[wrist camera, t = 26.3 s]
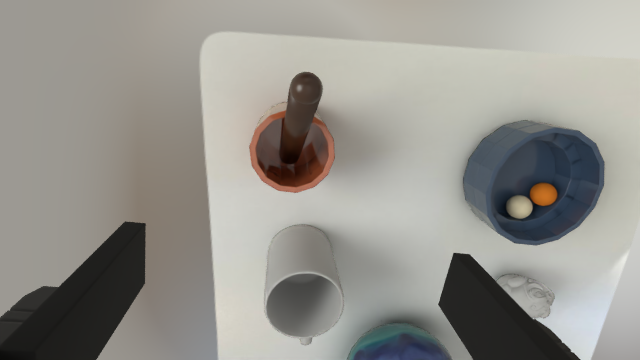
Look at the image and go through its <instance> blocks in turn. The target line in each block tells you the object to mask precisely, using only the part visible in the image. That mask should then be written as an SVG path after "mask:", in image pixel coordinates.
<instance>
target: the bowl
mask: <svg viewBox="0 0 640 360" xmlns="http://www.w3.org/2000/svg"><path fill="white" fill-rule="evenodd" d="M463 183H464V192H465V200H466V201H467V203H468V205H469V206H470V208H471V209H472V211H473V213H474V214H475V215H476V216H477V217H478V218H479V219H481V220H482V221H483V222H484V223H486V224H487V225H488V226H490V227H491V228H492V229H493V230H495V231H496V232H497V233H498V234H500V235H502V236H504V237H505V238H507V239H509V240H510V241H512V242H514V243H517V244H527V245H540V244H544V243H547V242H551V241H555V240H558V239H560V238H561V237H563V236H565V235H566V234H568V233H569V232H571V231H572V230H574V229H575V228H577V227H578V226H580V224H581V223H582V222H583V221H584V220H585V218H586V217H587V216H588V215H589V214H590V212H591V211H592V210H593V209H594V207H595V206H596V203H597V201H598V198H599V196H600V194H601V191H602V189H603V186H604V161H603V158H602V156H601V154H600V152H599V150H598V147H597V145H596V143H595V142H593V141H592V140H591V139H589V138H588V137H586V136H585V135H584V134H582V133H581V132H580V131H578V130H573V129H569V128H565V127H560V126H556V125H551V124H547V123H541V122H535V121H528V120H523V121H519V122H515V123H511V124H508V125H504V126H502V127H500V128H499V129H497V130H496V131H495V132H493V133H492V134H490V135H489V136H487V137H486V138H485V139H483V140H482V141H481V143H480V144H479V146H478V147H477V148H476V150H475V151H474V152H473V154H472V155H471V157H470V158H469V161H468V164H467V168H466V171H465V175H464V178H463ZM538 183H549V184H551V185H552V186H554V187H555V189H556V191H557V198H556V200H555V202H554V203H552V204H550V205H548V206H540V205H537V204H535V203H534V202H533V201H532V200H531V198H530V190H531V188H532V187H533V186H534V185H536V184H538ZM516 195H521V196H525V197H527V198H528V199H529V200H530V201H531V203H532V206H533V209H532V212H531V214H530V215H529V216H527V217H525V218H521V219H518V218H514V217H512V216H511V215H509V213H508V212H507V210H506V203H507V201H508V200H509V199H510V198H511V197H513V196H516Z"/></svg>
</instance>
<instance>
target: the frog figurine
mask: <svg viewBox="0 0 640 360" xmlns="http://www.w3.org/2000/svg"><path fill="white" fill-rule="evenodd" d="M496 282H497V283H498V284H499V285H500V286H501V287H502V288H503V289H504V290H505V291H506V292H507V293H508V294H509V295H510V296H511V297H512V298H513V299H514V300H515V301H516V302H517V303H518V304H519V306H520V307H521V308H522V309H523V310H524V311H525V312H526V313H527V314H528V315H529V316H530V317H531V318H532V319H533V318H539V317H541V318H546V317H547V316H549V314H550V306H551V305H552V303H553V300H554V293H553V292H552V291H551V290H550V289H549V288H547V287H546V286H545V285H543V284H542V283H540V282H538V281H536V280H534V279H533V280H532V279H528V280H527V278H525V277H523V276H519V275H515V274H514V275H512V274H510V275H504V276H502V277H500V278H499V279H498V280H497V281H496Z"/></svg>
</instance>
